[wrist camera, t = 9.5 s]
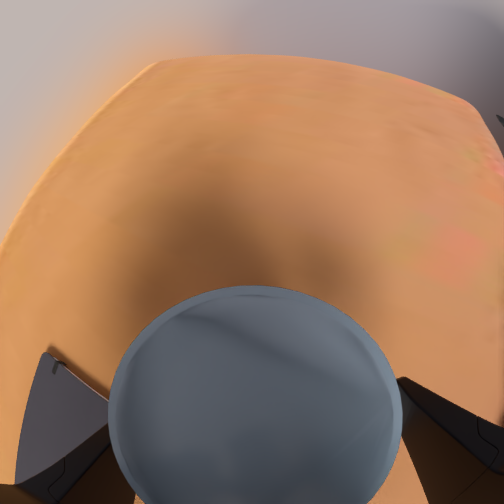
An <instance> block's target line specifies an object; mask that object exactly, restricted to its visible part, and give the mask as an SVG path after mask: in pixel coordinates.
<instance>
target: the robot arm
mask: <svg viewBox="0 0 504 504" xmlns="http://www.w3.org/2000/svg"><path fill="white" fill-rule="evenodd" d="M396 381H397V385H398V388H399V392H400V397H401V404H402V433H401V436H402V439H403V441H404V443H405V445H406V448H407V450H408V452H409V455H410V457H411V460H412V462H413V464H414V467H415V469H416V472H417V474H418V477H419V479H420V482H421V484H422V487H423V489H424V492H425V495H426V497H427V500H428V503H429V504H504V428H503V427H500V426H498V425H495V424H493V423H491V422H489V421H487V420H485V419H483V418H481V417H479V416H476V415H475V414H473V413H471V412H469V411H467V410H465V409H463V408H461V407H460V406H458V405H456V404H454V403H452V402H450V401H448V400H447V399H445V398H443V397H441V396H439V395H437V394H436V393H434V392H432V391H430V390H428V389H427V388H425V387H423V386H421V385H419V384H418V383H416V382H414V381H412V380H410V379H409V378H407V377H400V378H397V379H396ZM135 494H136V493H135V491H134V490H133V488H132V487H131V486H130V484H129V483H128V481H127V480H126V478H125V476H124V474H123V473H122V471H121V469H120V467H119V464H118V462H117V459H116V457H115V454H114V451H113V447H112V444H111V439H110V434H109V426H108V423H107V424H105V425H104V426H103V427H102V428H100V429H99V430H98V431H96V432H95V433H94V434H93V435H91V436H90V437H89V438H88V439H86V440H85V441H84V442H82V443H81V444H80V445H78V446H77V447H76V448H75V449H73V450H72V451H71V452H69V453H68V454H67V455H65V457H63V458H61V459H60V460H59V461H57V462H56V463H54V464H53V465H51V466H50V467H48V468H47V469H45V470H43V471H42V472H40V473H38V474H36V475H35V476H33V477H31V478H29V479H27V480H25V481H23V482H21V483H18V484H14V485H8V484H0V504H134V499H135Z"/></svg>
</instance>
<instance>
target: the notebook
mask: <svg viewBox="0 0 504 504" xmlns="http://www.w3.org/2000/svg"><path fill="white" fill-rule="evenodd" d="M63 364H64V365H66V364H65V363H64V362H61V361H58V360H57V359H56V358H55V357H52V356H51V355H50V354H49V353H47V352H44V353H43V354H42V356H41V358H40V361H39V364H38V367H37V370H36V373H35V376H34V380H33V383H32V387H31V390H30V394H29V398H28V401H27V406H26V410H25V414H24V419H23V423H22V429H21V434H20V440H19V446H18V453H17V461H16V471H15V484H18V483H21V482H23V481H25V480H27V479H29V478H31V477H33V476H35V475H36V474H38V473H40V472H42V471H43V470H45V469H47V468H48V467H50V466H51V465H53V464H54V463H56V462H57V461H59V460H60V459H61V458H63V457H65V455H67V454H68V453H69V452H71V451H72V450H73V449H75V448H76V447H77V446H78V445H80V444H81V443H82V442H84V441H85V440H86V439H88V438H89V437H90V436H91V435H93V434H94V433H95V432H96V431H98V430H99V429H100V428H102V427H103V426H104V425H105V424H107V423H108V403H109V400H107V399H106V398H105V397H103V396H102V395H100V394H99V393H98V392H96V391H95V390H94V389H92V388H91V387H90V386H88V385H87V384H86V383H85V382H83V381H82V380H81V379H80V378H78V377H77V376H76V375H75V374H73V373H72V372H71V371H70V370H69V369H68V368H66V367H65V366H64V365H63Z"/></svg>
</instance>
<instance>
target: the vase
mask: <svg viewBox="0 0 504 504" xmlns="http://www.w3.org/2000/svg"><path fill="white" fill-rule="evenodd" d="M108 426H109V434H110V439H111V444H112V447H113V451H114V454H115V457H116V459H117V462H118V464H119V467H120V469H121V471H122V473H123V474H124V476H125V478H126V480H127V481H128V483H129V484H130V486H131V487H132V488H133V490H134V491H135V493H136V494H137V495H138V496H139V498H140V499H141V500H142V501H143V502H144V503H145V504H367V503H368V502H369V501H370V500H371V499H372V498H373V496H374V495H375V494H376V492H377V491H378V490H379V488H380V487H381V486H382V484H383V483H384V481H385V479H386V477H387V476H388V474H389V472H390V470H391V468H392V466H393V463H394V460H395V458H396V455H397V452H398V449H399V444H400V439H401V433H402V404H401V397H400V392H399V388H398V385H397V381H396V378H395V375H394V373H393V371H392V369H391V366H390V364H389V362H388V360H387V358H386V357H385V355H384V354H383V352H382V351H381V349H380V348H379V346H378V345H377V343H376V342H375V341H374V340H373V339H372V338H371V336H370V335H369V334H368V333H367V332H366V331H365V330H364V329H363V328H362V327H361V326H360V325H359V324H357V323H356V322H355V321H354V320H353V319H352V318H351V317H349V316H348V315H346V314H345V313H343V312H342V311H340V310H339V309H337V308H336V307H334V306H332V305H330V304H328V303H326V302H324V301H322V300H320V299H318V298H315V297H312V296H310V295H307V294H304V293H301V292H298V291H293V290H289V289H284V288H280V287H271V286H261V285H254V286H235V287H227V288H221V289H217V290H213V291H209V292H205V293H202V294H199V295H197V296H194V297H191V298H189V299H186V300H184V301H182V302H181V303H179V304H177V305H175V306H173V307H171V308H169V309H168V310H167V311H165V312H164V313H162V314H161V315H160V316H158V317H157V318H155V319H154V320H153V321H152V322H151V323H150V324H149V325H148V326H147V327H146V328H144V329H143V330H142V331H141V333H140V334H139V335H138V336H137V337H136V339H135V340H134V341H133V342H132V343H131V345H130V347H129V348H128V350H127V351H126V353H125V354H124V356H123V358H122V360H121V362H120V364H119V366H118V368H117V371H116V373H115V376H114V379H113V383H112V386H111V390H110V396H109V403H108Z"/></svg>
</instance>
